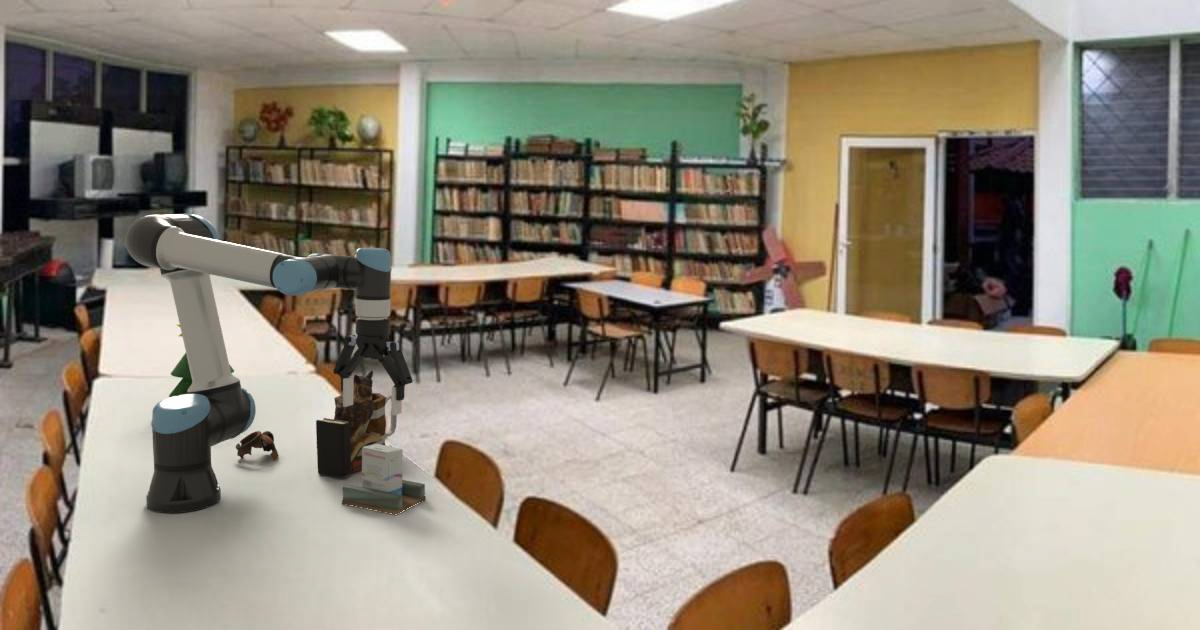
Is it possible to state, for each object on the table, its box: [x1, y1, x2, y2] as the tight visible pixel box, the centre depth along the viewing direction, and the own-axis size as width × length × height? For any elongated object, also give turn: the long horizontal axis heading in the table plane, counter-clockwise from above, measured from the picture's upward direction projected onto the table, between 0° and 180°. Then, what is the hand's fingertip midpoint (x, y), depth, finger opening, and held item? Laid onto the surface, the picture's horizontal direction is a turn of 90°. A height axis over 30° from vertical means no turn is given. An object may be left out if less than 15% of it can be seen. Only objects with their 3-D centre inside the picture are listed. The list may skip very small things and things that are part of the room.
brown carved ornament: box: [235, 430, 279, 462], centre depth 235 cm, size 12×10×8 cm
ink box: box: [361, 444, 404, 495], centre depth 204 cm, size 9×5×12 cm, turn 59°
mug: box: [334, 392, 398, 446], centre depth 244 cm, size 20×14×15 cm
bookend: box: [315, 370, 382, 478], centre depth 225 cm, size 15×11×25 cm
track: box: [341, 479, 427, 515], centre depth 204 cm, size 11×15×4 cm
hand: (372, 409), depth 203 cm, fingers open, 13 cm apart
